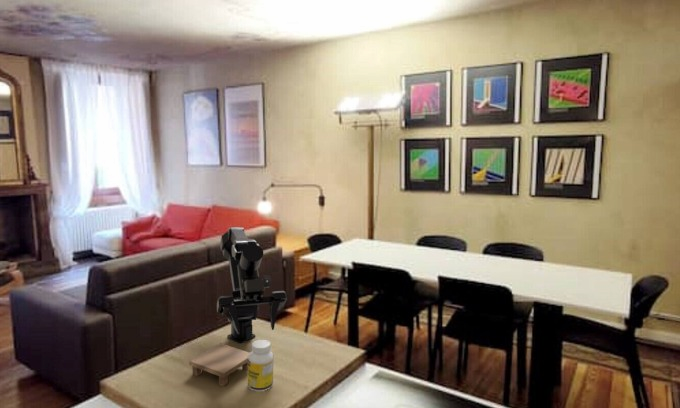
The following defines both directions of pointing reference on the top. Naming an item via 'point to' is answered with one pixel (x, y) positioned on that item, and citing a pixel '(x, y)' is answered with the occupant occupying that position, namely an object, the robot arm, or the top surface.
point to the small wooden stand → (220, 362)
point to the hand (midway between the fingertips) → (256, 331)
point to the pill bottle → (260, 366)
